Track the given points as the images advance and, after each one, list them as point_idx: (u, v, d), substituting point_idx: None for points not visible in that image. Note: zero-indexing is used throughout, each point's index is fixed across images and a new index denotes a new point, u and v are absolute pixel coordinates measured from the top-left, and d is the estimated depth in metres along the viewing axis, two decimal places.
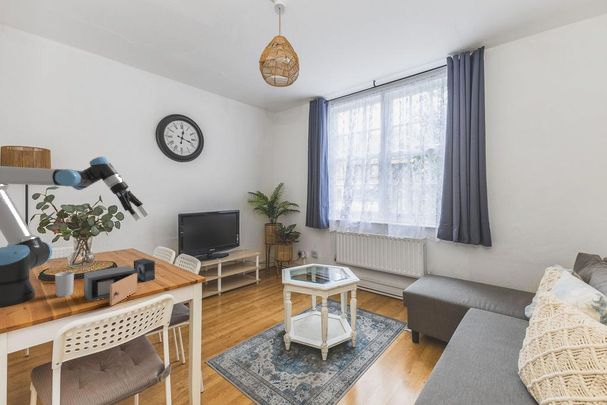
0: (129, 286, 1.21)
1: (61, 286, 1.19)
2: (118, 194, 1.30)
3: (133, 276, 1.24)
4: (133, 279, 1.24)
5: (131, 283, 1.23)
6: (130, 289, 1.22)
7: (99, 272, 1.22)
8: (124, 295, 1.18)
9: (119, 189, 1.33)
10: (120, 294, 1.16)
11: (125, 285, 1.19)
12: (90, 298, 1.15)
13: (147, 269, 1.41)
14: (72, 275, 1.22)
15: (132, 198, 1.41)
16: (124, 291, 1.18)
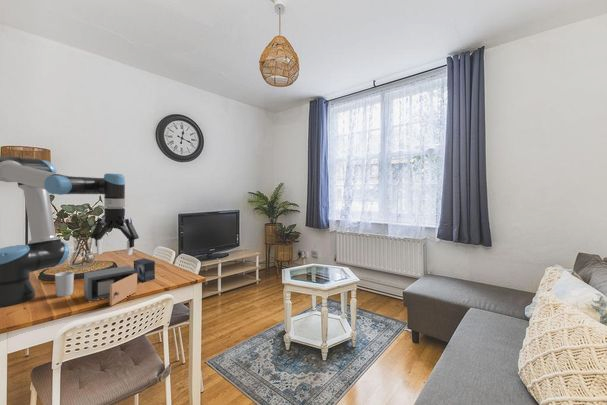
0: (129, 286, 1.21)
1: (60, 286, 1.18)
2: None
3: (133, 276, 1.24)
4: (133, 279, 1.24)
5: (131, 283, 1.23)
6: (130, 289, 1.22)
7: (99, 272, 1.22)
8: (124, 295, 1.18)
9: None
10: (120, 294, 1.16)
11: (125, 285, 1.19)
12: (90, 298, 1.15)
13: (147, 269, 1.41)
14: (72, 275, 1.22)
15: None
16: (124, 291, 1.18)
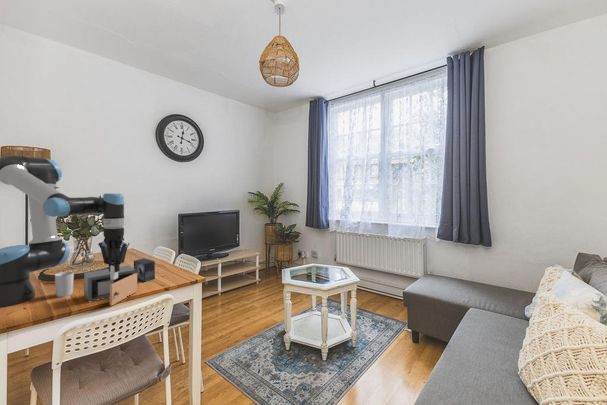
0: (129, 286, 1.21)
1: (60, 286, 1.18)
2: None
3: (133, 276, 1.24)
4: (133, 279, 1.24)
5: (131, 283, 1.23)
6: (130, 289, 1.22)
7: (99, 272, 1.22)
8: (124, 295, 1.18)
9: None
10: (120, 294, 1.16)
11: (125, 285, 1.19)
12: (90, 298, 1.15)
13: (147, 269, 1.41)
14: (72, 275, 1.22)
15: None
16: (124, 291, 1.18)
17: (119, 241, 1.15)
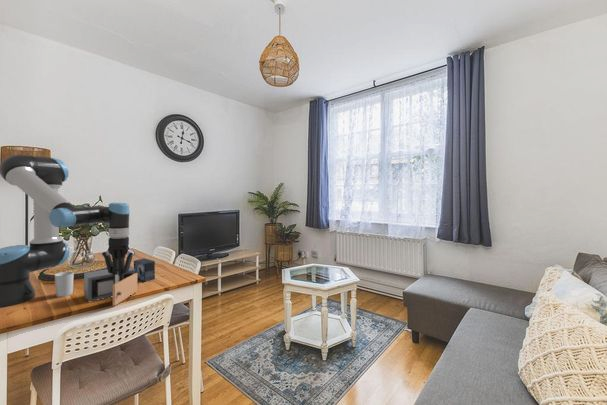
0: (130, 286, 1.22)
1: (60, 286, 1.18)
2: None
3: (134, 276, 1.24)
4: (134, 279, 1.24)
5: (132, 283, 1.23)
6: (131, 289, 1.22)
7: (99, 272, 1.22)
8: (125, 295, 1.18)
9: None
10: (122, 294, 1.16)
11: (127, 285, 1.19)
12: (90, 298, 1.15)
13: (147, 269, 1.41)
14: (72, 275, 1.22)
15: None
16: (126, 291, 1.18)
17: (125, 250, 1.16)
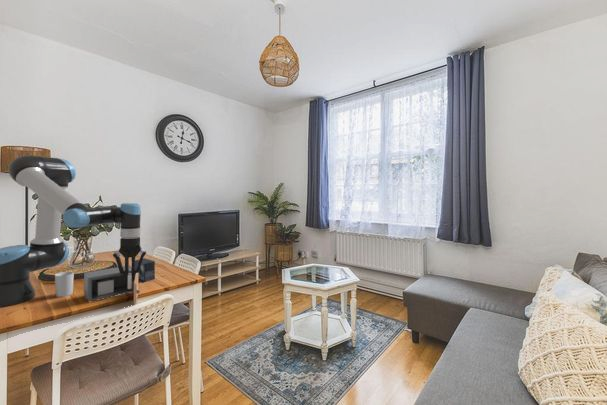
0: None
1: (60, 286, 1.18)
2: None
3: None
4: None
5: None
6: None
7: (99, 272, 1.22)
8: (137, 294, 1.20)
9: None
10: None
11: (137, 284, 1.21)
12: (90, 298, 1.15)
13: (147, 269, 1.41)
14: (72, 275, 1.22)
15: None
16: (137, 290, 1.20)
17: (138, 250, 1.18)
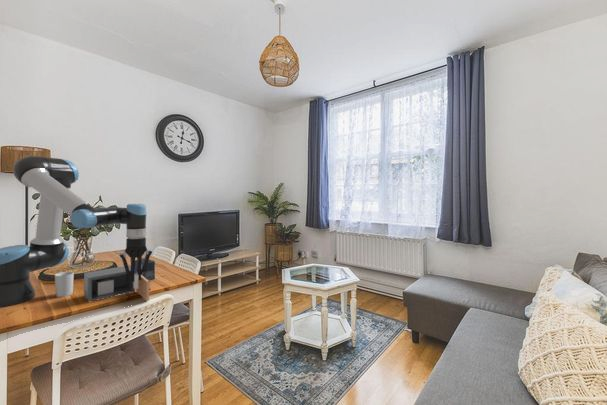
0: None
1: (60, 286, 1.18)
2: None
3: None
4: None
5: None
6: None
7: (99, 272, 1.22)
8: None
9: None
10: None
11: None
12: (90, 298, 1.15)
13: (147, 269, 1.41)
14: (72, 275, 1.22)
15: (138, 259, 1.18)
16: None
17: (145, 250, 1.20)
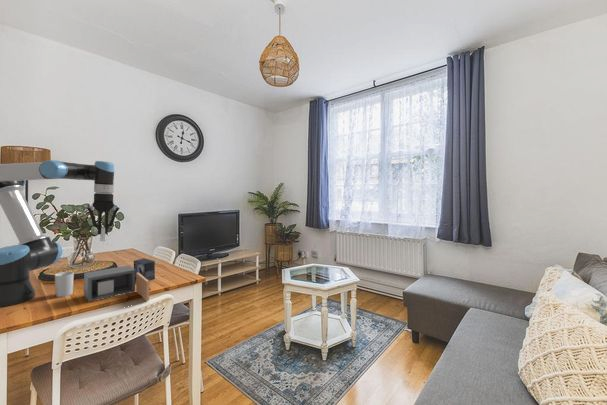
0: None
1: (60, 286, 1.18)
2: (87, 209, 1.22)
3: None
4: None
5: None
6: None
7: (99, 272, 1.22)
8: None
9: None
10: None
11: None
12: (90, 298, 1.15)
13: (147, 269, 1.41)
14: (72, 275, 1.22)
15: (105, 213, 1.26)
16: None
17: (112, 205, 1.28)
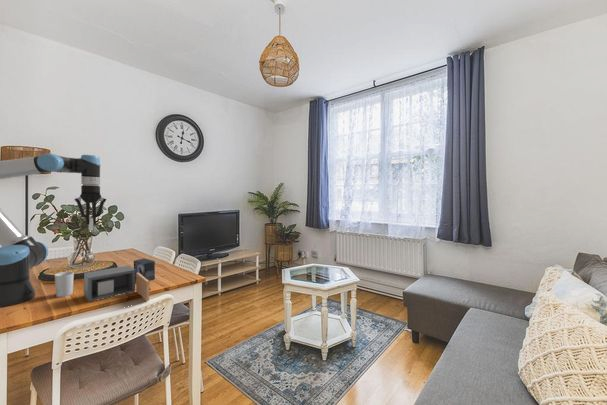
0: None
1: (60, 286, 1.18)
2: None
3: None
4: None
5: None
6: None
7: (99, 272, 1.22)
8: None
9: None
10: None
11: None
12: (90, 298, 1.15)
13: (147, 269, 1.41)
14: (72, 275, 1.22)
15: (92, 204, 1.34)
16: None
17: (99, 197, 1.36)
